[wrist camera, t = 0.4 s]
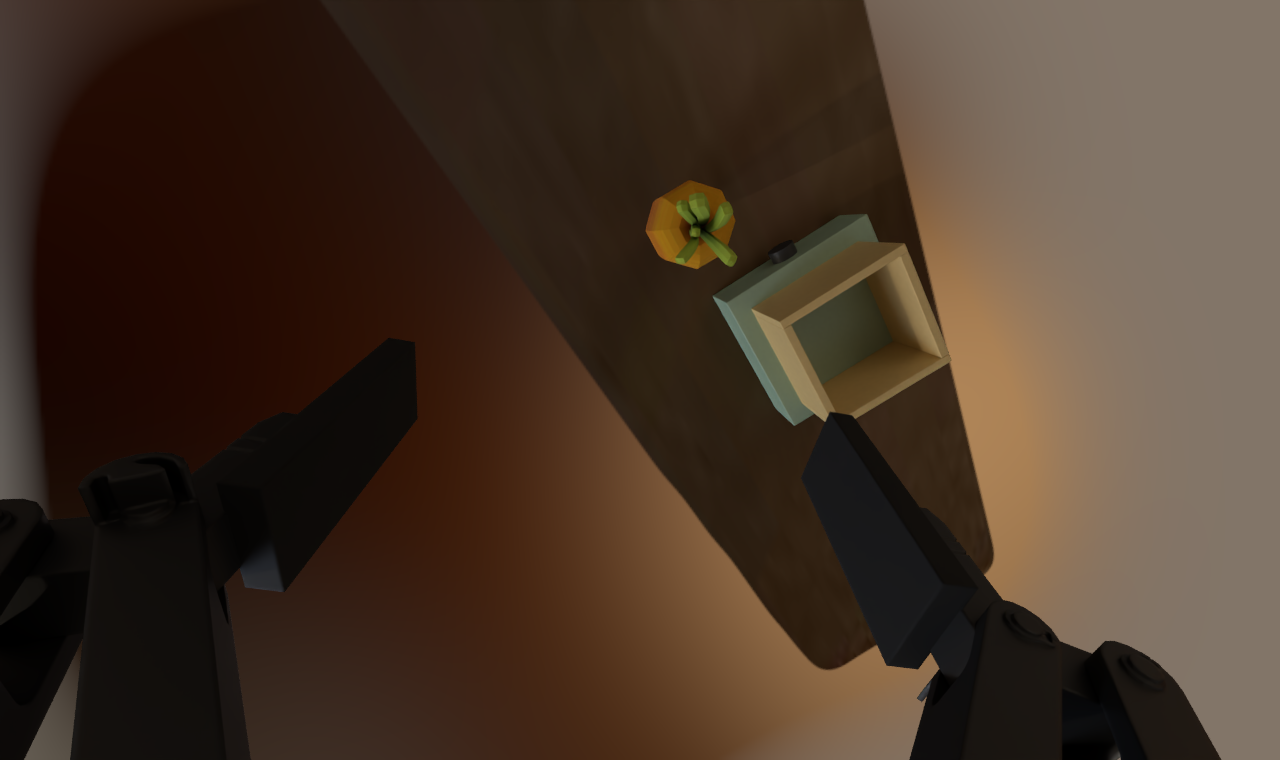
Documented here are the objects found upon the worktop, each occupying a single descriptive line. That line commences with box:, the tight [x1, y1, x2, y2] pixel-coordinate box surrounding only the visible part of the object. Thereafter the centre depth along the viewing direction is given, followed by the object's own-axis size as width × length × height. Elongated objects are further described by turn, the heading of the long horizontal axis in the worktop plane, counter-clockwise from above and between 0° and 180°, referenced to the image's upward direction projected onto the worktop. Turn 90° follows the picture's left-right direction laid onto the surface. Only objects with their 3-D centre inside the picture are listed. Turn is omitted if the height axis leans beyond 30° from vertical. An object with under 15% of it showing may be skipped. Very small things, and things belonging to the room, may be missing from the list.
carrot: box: [645, 180, 737, 269], centre depth 31 cm, size 5×5×15 cm
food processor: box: [713, 214, 951, 426], centre depth 37 cm, size 13×12×10 cm
